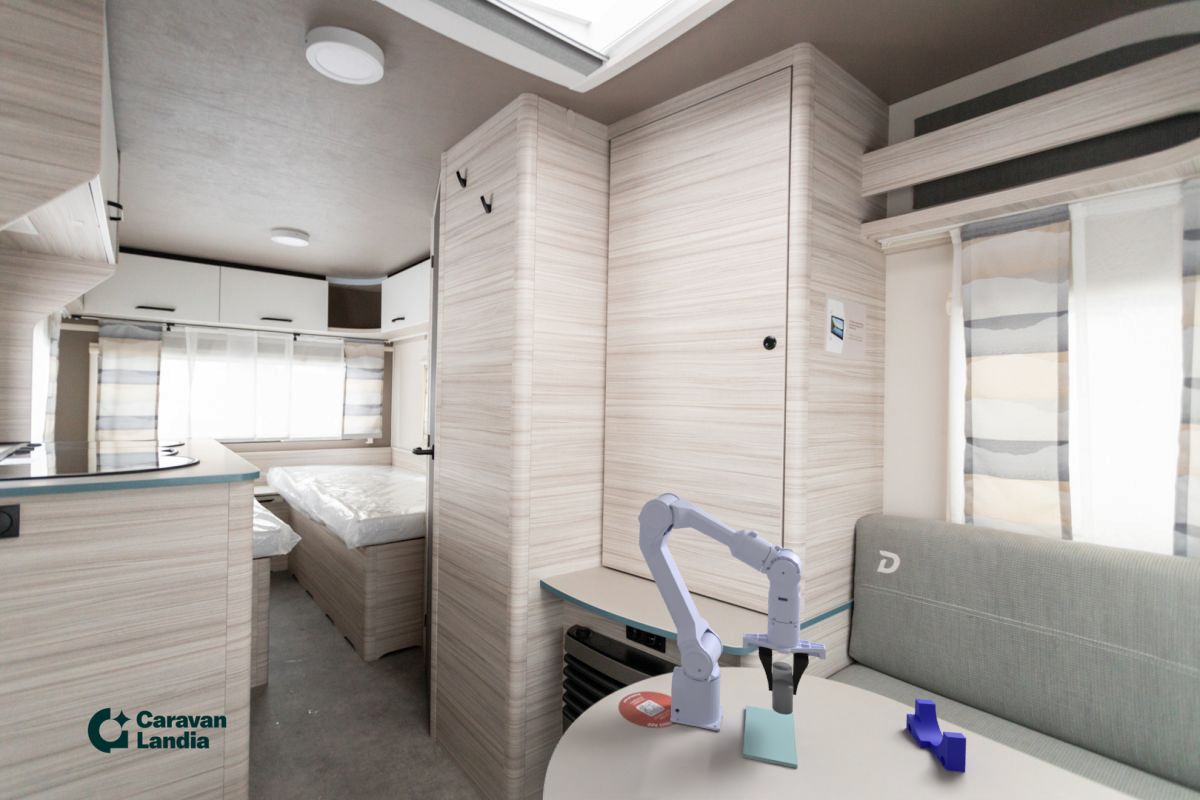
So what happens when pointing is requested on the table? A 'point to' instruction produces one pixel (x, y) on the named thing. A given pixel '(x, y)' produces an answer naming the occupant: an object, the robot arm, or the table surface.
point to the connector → (782, 688)
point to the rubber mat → (770, 737)
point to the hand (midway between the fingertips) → (782, 690)
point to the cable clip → (936, 736)
